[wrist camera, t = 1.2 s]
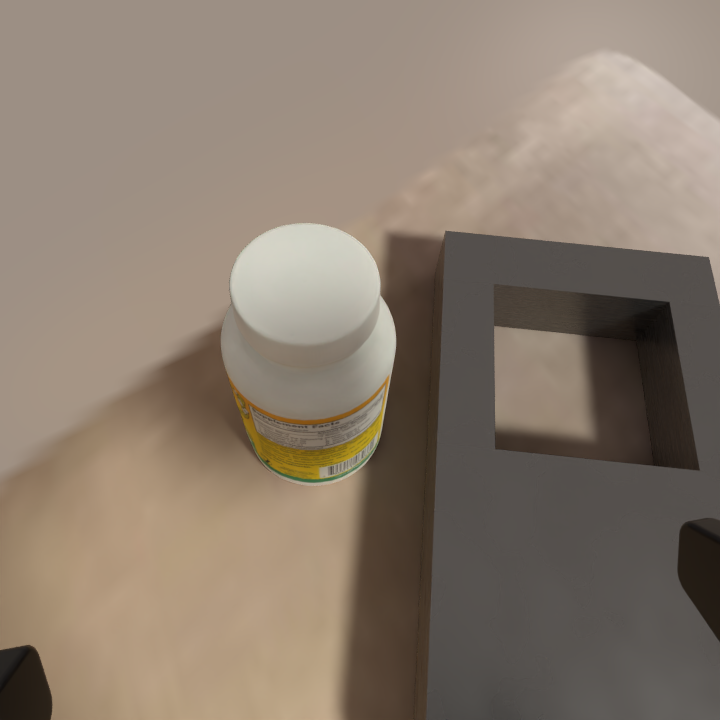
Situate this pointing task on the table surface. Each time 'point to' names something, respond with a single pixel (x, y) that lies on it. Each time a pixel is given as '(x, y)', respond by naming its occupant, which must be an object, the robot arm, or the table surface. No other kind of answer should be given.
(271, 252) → the supplement bottle
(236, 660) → the table surface
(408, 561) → the table surface
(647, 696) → the grey slotted block
